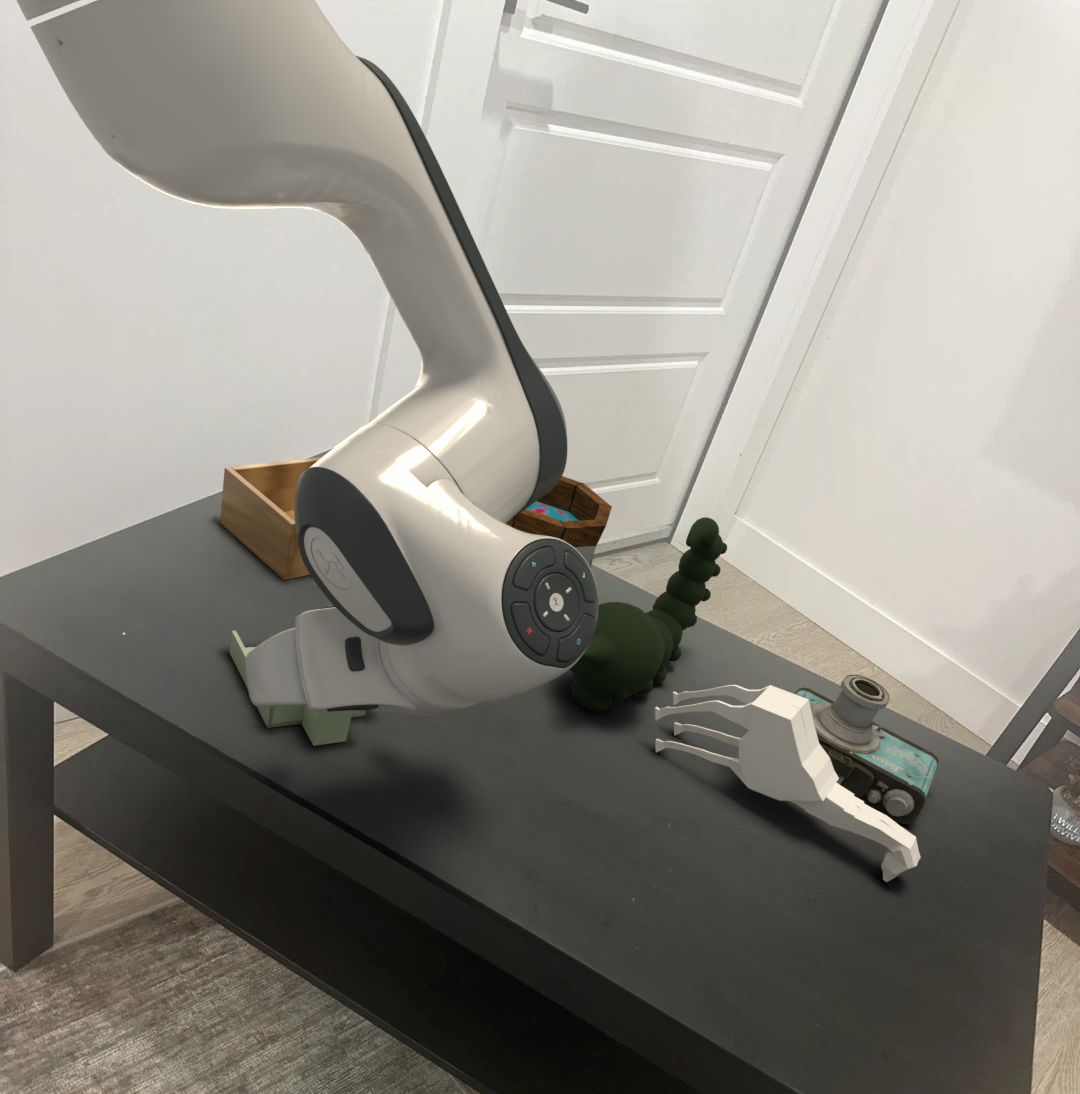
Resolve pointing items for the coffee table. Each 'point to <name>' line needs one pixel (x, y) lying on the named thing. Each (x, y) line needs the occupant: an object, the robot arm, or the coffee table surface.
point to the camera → (871, 750)
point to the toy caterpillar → (647, 628)
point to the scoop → (298, 709)
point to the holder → (266, 512)
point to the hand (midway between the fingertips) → (352, 678)
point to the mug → (567, 516)
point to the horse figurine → (791, 764)
